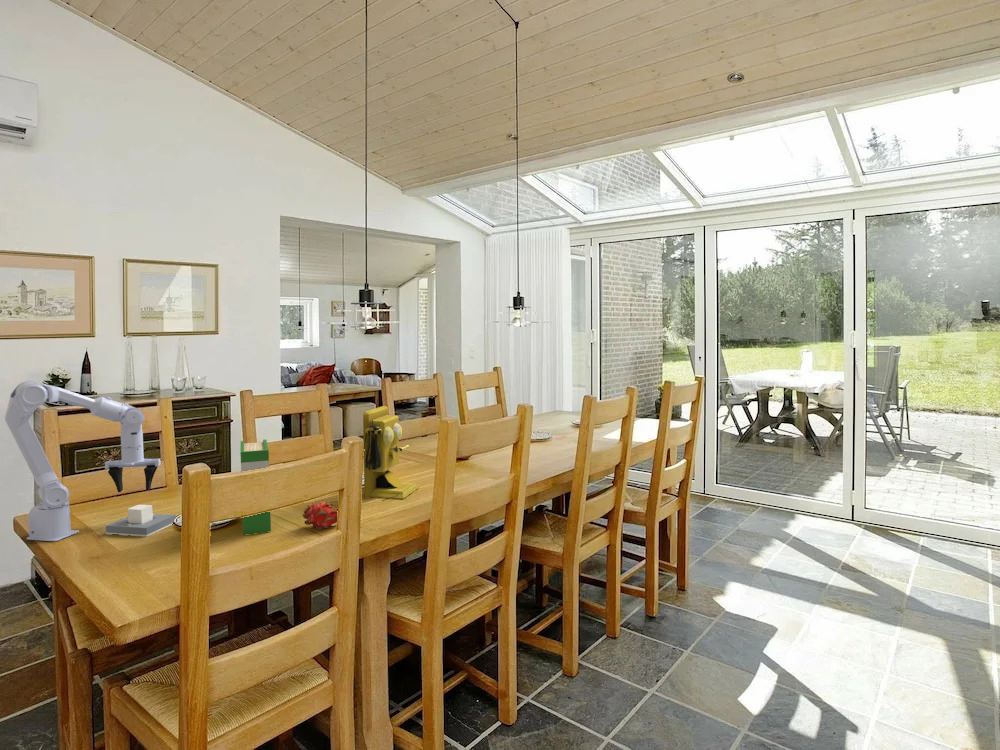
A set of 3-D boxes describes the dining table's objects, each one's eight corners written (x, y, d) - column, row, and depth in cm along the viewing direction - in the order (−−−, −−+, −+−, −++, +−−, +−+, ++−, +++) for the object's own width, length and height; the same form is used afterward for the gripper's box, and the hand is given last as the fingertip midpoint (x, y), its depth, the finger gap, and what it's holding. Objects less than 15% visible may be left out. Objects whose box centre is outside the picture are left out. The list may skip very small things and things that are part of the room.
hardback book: (243, 517, 190) (240, 441, 188) (268, 514, 192) (266, 439, 190) (243, 535, 173) (240, 452, 171) (270, 532, 176) (268, 450, 174)
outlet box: (106, 534, 174) (105, 524, 174) (137, 520, 186) (136, 512, 186) (146, 536, 172) (146, 527, 172) (175, 523, 184) (175, 514, 184)
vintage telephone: (392, 507, 200) (391, 417, 198) (353, 504, 203) (352, 415, 201) (425, 483, 230) (425, 404, 228) (391, 481, 234) (390, 403, 231)
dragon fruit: (299, 533, 180) (341, 535, 183) (300, 524, 173) (344, 526, 176) (303, 505, 184) (344, 508, 187) (304, 495, 177) (346, 498, 181)
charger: (128, 529, 177) (127, 508, 176) (139, 524, 181) (138, 504, 180) (142, 530, 176) (141, 509, 175) (153, 525, 180) (152, 505, 180)
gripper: (99, 450, 178) (102, 495, 179) (154, 447, 182) (156, 492, 183) (109, 445, 185) (111, 489, 186) (161, 443, 189) (163, 486, 190)
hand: (134, 490), depth 185 cm, fingers open, 7 cm apart
